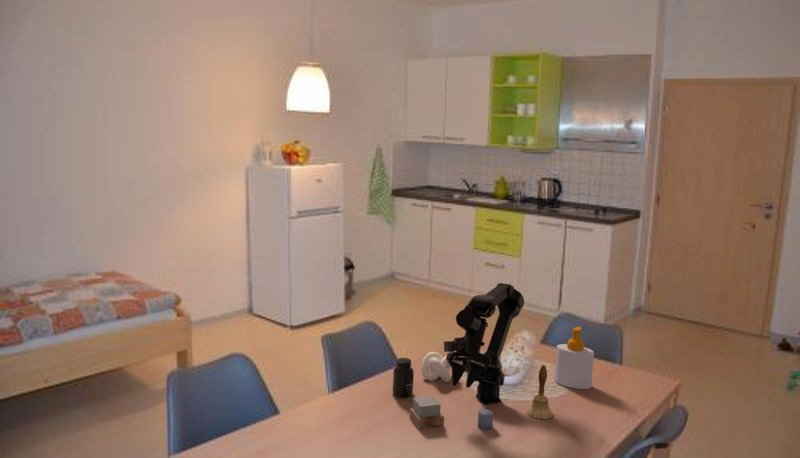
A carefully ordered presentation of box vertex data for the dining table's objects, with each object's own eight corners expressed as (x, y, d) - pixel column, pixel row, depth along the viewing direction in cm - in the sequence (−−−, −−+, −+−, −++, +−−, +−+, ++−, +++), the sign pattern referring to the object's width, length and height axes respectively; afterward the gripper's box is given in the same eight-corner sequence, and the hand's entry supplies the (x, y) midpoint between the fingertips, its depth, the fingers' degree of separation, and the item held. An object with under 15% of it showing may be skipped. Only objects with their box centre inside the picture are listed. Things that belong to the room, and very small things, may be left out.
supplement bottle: (410, 399, 211) (412, 364, 209) (390, 397, 212) (391, 362, 210) (414, 391, 218) (415, 357, 216) (395, 388, 219) (395, 355, 217)
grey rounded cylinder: (488, 422, 196) (489, 408, 195) (495, 429, 192) (496, 415, 191) (475, 424, 195) (475, 410, 194) (481, 431, 191) (482, 417, 190)
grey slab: (432, 406, 199) (433, 395, 199) (440, 415, 193) (440, 404, 192) (413, 408, 197) (413, 397, 197) (419, 417, 191) (420, 406, 191)
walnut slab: (433, 415, 200) (433, 405, 200) (443, 427, 193) (444, 416, 192) (409, 419, 198) (409, 408, 197) (418, 430, 190) (419, 419, 190)
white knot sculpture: (416, 382, 225) (417, 358, 223) (425, 370, 236) (425, 347, 234) (447, 387, 221) (448, 362, 220) (455, 374, 233) (456, 351, 231)
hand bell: (530, 405, 209) (533, 359, 206) (555, 411, 205) (559, 364, 202) (523, 415, 201) (526, 367, 199) (549, 421, 198) (553, 373, 195)
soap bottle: (594, 384, 227) (599, 329, 224) (587, 392, 220) (592, 336, 217) (558, 376, 234) (562, 322, 231) (550, 383, 227) (554, 328, 224)
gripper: (438, 329, 202) (424, 377, 198) (465, 326, 185) (450, 379, 181) (468, 340, 205) (455, 388, 201) (497, 339, 188) (484, 391, 184)
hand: (460, 386), depth 191 cm, fingers open, 9 cm apart
